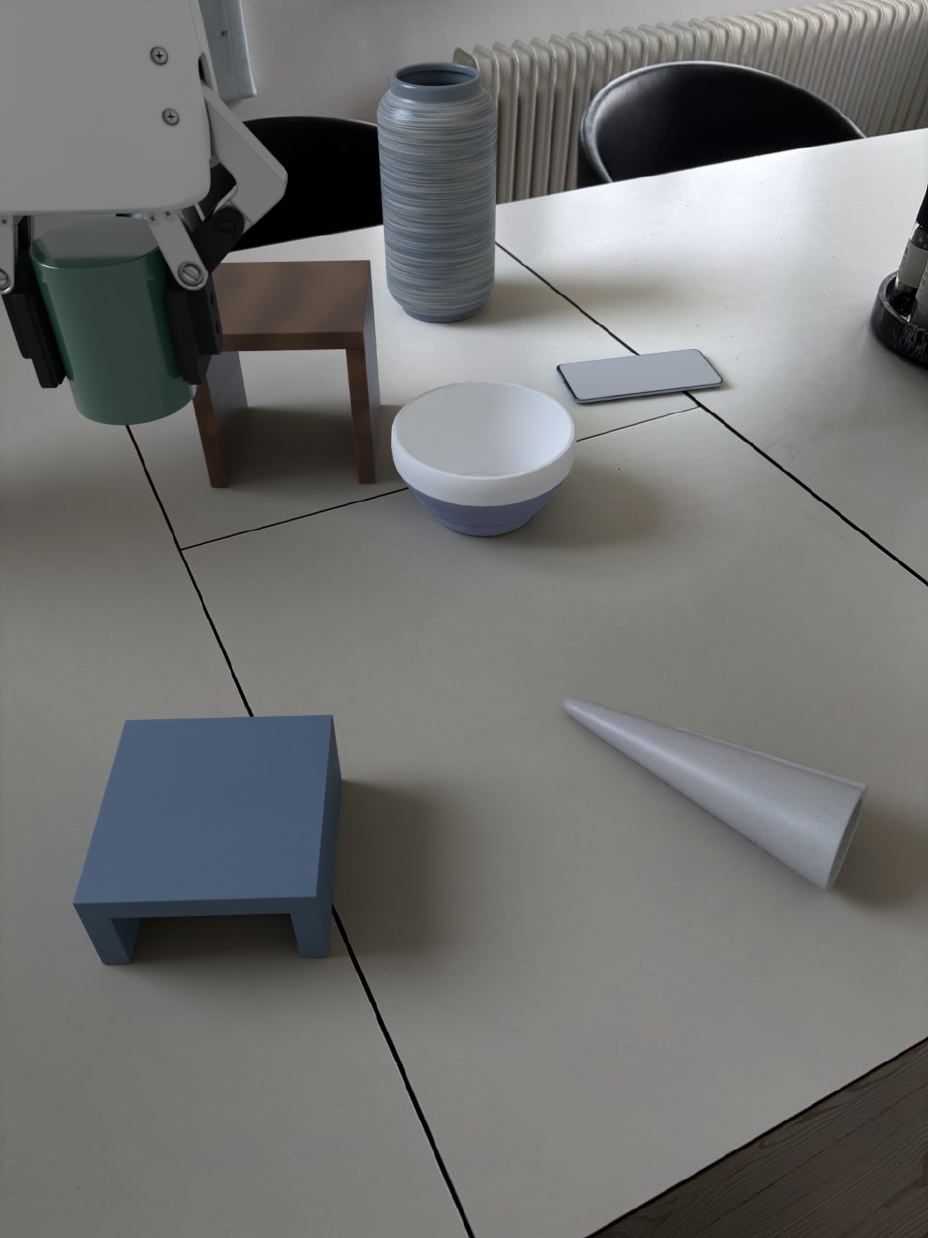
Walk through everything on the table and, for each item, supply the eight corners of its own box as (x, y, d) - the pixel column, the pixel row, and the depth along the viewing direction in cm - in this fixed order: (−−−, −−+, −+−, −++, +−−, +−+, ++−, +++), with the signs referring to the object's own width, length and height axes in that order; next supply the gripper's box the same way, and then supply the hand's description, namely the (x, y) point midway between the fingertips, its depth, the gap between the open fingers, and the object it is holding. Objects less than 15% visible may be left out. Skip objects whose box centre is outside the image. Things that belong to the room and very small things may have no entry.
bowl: (374, 476, 86) (367, 398, 81) (530, 443, 90) (533, 366, 85) (427, 579, 76) (424, 497, 71) (600, 537, 80) (609, 457, 75)
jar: (61, 427, 40) (10, 270, 36) (91, 366, 44) (48, 216, 40) (186, 424, 40) (151, 267, 36) (205, 363, 44) (176, 214, 40)
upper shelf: (210, 487, 85) (177, 334, 76) (232, 406, 95) (205, 262, 85) (375, 483, 86) (363, 331, 76) (380, 403, 95) (370, 259, 86)
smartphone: (554, 364, 99) (697, 347, 101) (554, 369, 99) (697, 352, 102) (575, 400, 94) (725, 382, 96) (574, 405, 94) (724, 387, 97)
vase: (408, 337, 105) (397, 98, 89) (374, 291, 113) (359, 64, 97) (510, 318, 108) (517, 83, 92) (471, 275, 116) (471, 52, 100)
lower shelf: (102, 964, 53) (71, 903, 49) (148, 784, 62) (125, 719, 58) (328, 957, 54) (316, 896, 50) (341, 778, 62) (332, 714, 58)
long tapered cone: (520, 714, 61) (839, 840, 52) (571, 661, 65) (873, 768, 56) (519, 784, 64) (820, 914, 55) (568, 729, 68) (854, 841, 59)
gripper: (291, -210, 32) (342, 323, 44) (-252, -204, 32) (-48, 332, 44) (265, -189, 26) (331, 413, 39) (-393, -181, 26) (-114, 424, 38)
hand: (129, 365), depth 41 cm, fingers closed on jar, 5 cm apart
